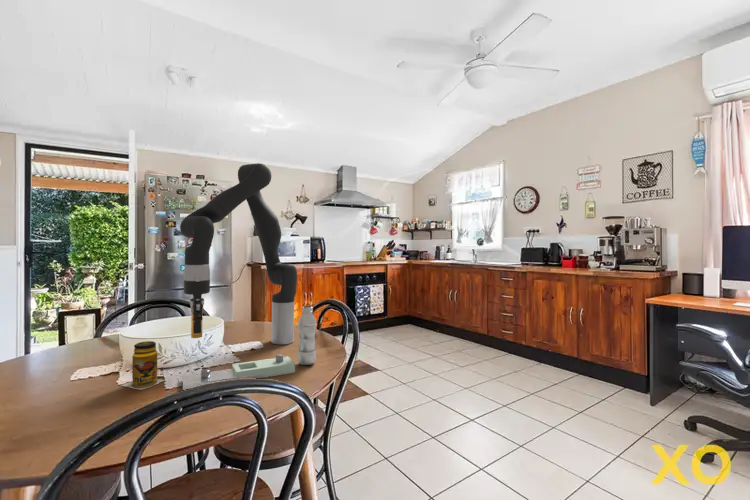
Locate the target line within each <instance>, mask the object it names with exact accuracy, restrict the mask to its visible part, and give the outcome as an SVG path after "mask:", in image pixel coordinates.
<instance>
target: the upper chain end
mask: <svg viewBox="0 0 750 500" xmlns="http://www.w3.org/2000/svg"><path fill="white" fill-rule="evenodd" d="M231 365H232V366H231V367H232V368H231V369H233V371H234V373H235V376H236V377H240V376H246V375H253V374H259V373H264V374H263V378H269V376H270V377H275V376H276V377H277V376H282V375H287V374H294V373H296V362H294V360H292V359H291V357H290V356H287V355H286V356H284V354H281V353H279V354H276V355H275V357H274V358H267V359H265V358H264V359H258V360H253V361H245V362H236V363H232V364H231ZM251 367H255V368H251ZM244 368H249V369H244ZM241 369H242V370H241Z"/></svg>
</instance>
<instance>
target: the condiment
mask: <svg viewBox="0 0 750 500" xmlns="http://www.w3.org/2000/svg"><path fill="white" fill-rule="evenodd" d="M156 345H157V343H156V342H155V341H152V340H151V341H150V340H148V341H141V342H137V343H136V344H134V346H133V347H134V350H133V354H132V362H131V363H132V367H131V370H132V376H131V377H132V381H129V382H126V383H124V384H121V385H120V386H121V387H126V388H129V389H130V388H131V389H135V390H139V391H142V390H146V389H147V388H151V387H153V386H156V385H158V384H160V383H162V382H165V380H164V379H158V351H157V350H156V349H157V347H156Z"/></svg>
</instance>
